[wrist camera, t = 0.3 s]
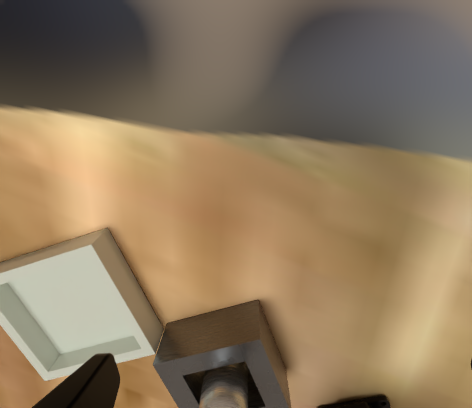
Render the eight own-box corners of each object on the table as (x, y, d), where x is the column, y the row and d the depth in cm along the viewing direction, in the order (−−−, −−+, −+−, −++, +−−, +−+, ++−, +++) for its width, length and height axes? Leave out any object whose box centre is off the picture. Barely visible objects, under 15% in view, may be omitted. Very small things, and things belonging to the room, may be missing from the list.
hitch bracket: (286, 370, 27) (292, 416, 23) (202, 388, 28) (195, 435, 24) (258, 299, 24) (260, 339, 20) (166, 323, 25) (152, 364, 22)
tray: (163, 329, 25) (155, 353, 23) (62, 355, 27) (44, 381, 25) (107, 227, 22) (91, 244, 20) (-5, 264, 24) (-33, 283, 21)
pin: (261, 360, 26) (269, 510, 17) (212, 371, 27) (194, 521, 18) (244, 320, 25) (243, 461, 16) (193, 333, 26) (162, 475, 16)
